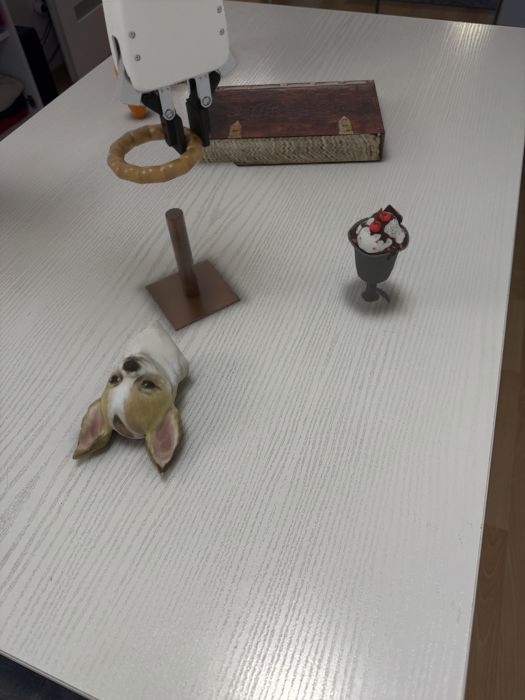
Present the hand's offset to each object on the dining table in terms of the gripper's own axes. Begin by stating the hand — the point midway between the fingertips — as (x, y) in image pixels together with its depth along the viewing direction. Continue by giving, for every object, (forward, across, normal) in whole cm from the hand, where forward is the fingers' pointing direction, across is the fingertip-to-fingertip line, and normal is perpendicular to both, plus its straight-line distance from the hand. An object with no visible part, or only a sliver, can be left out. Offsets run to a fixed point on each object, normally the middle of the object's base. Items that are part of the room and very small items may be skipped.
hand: (189, 144), depth 57 cm
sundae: (+19, -14, +15) cm, 28 cm away
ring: (0, +4, 0) cm, 4 cm away
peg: (+19, +4, +2) cm, 20 cm away
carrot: (+19, -9, -45) cm, 50 cm away
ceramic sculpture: (+19, +16, +15) cm, 29 cm away
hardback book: (+19, -28, -24) cm, 42 cm away
